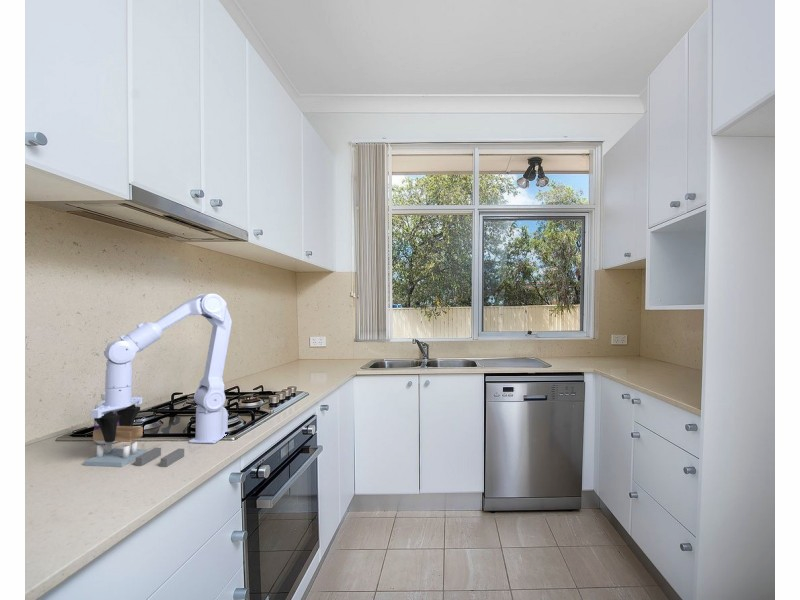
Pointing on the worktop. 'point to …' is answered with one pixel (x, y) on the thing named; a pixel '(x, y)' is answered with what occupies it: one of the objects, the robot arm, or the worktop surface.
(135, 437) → the shelf board
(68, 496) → the worktop surface
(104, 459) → the peg base
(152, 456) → the board rack
